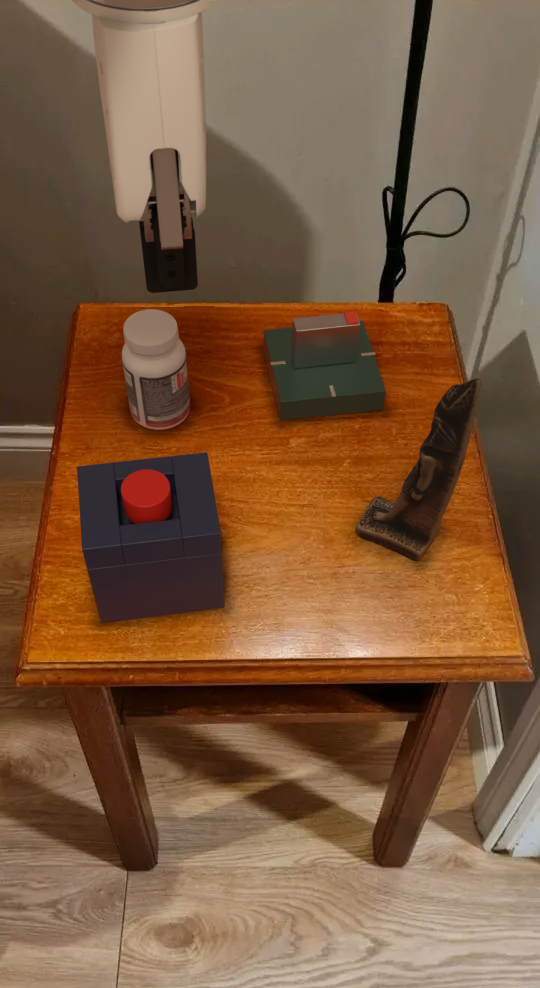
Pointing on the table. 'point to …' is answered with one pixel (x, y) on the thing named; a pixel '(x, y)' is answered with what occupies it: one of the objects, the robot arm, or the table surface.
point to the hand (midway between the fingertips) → (171, 282)
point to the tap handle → (325, 339)
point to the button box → (151, 541)
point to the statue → (426, 479)
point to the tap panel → (322, 380)
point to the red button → (146, 496)
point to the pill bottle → (155, 370)
